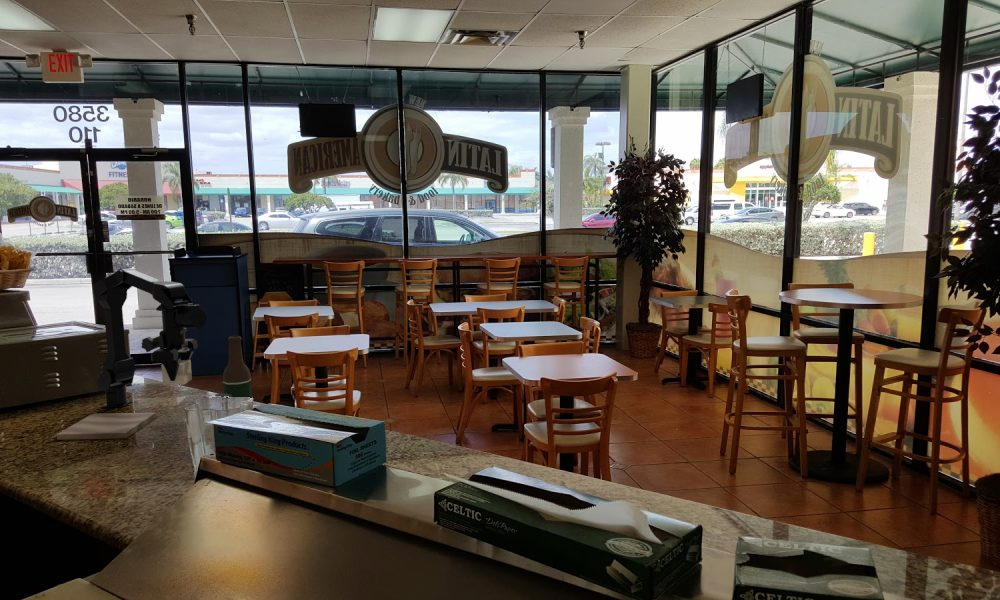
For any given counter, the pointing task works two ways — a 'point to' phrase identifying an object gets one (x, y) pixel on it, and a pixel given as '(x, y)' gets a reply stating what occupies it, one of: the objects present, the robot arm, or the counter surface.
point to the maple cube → (178, 374)
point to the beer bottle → (236, 371)
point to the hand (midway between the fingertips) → (177, 378)
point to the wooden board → (107, 426)
